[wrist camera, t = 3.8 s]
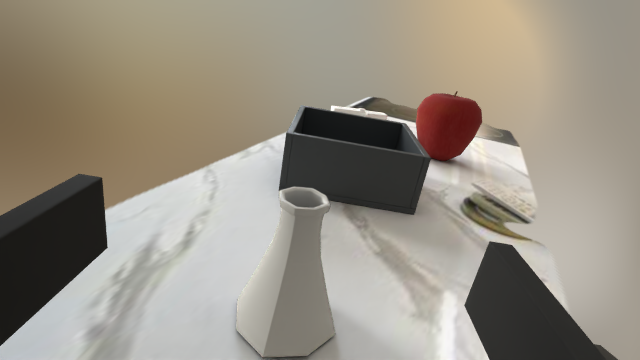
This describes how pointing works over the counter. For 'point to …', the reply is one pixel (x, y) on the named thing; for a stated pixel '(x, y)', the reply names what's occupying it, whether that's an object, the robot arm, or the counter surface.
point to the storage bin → (354, 159)
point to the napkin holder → (360, 112)
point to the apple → (447, 125)
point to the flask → (289, 283)
